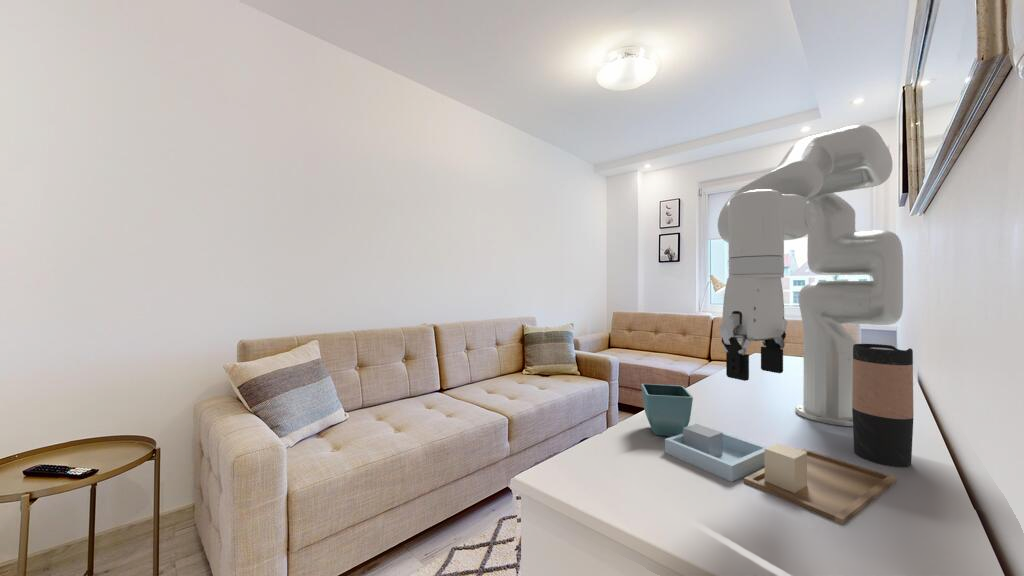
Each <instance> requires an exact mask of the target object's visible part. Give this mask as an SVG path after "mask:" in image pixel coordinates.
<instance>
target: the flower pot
mask: <svg viewBox="0 0 1024 576" xmlns="http://www.w3.org/2000/svg"><path fill="white" fill-rule="evenodd" d="M640 385H641V386H640V387H641V392H642V394H641V395H642V403H643V404H642V405H643V409H644V412H645V416H646V418H647V421H648V423H649V426H650V428H651V430H652V431H651V432H653V435H656V436H664V437H673V436H676V435H679V434H682V433H683V428H685V427H688V426H689V424H690V420H691V416H692V415H691V414H692V409H693V407H692V406H693V399H694V396H693V395H692V394H691V393H690V392H689V391H688V390H687V388H685V386H683V385H677V384H675V385H674V384H656V383H655V384H653V383H641V384H640Z"/></svg>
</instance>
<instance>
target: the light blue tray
mask: <svg viewBox="0 0 1024 576" xmlns="http://www.w3.org/2000/svg"><path fill="white" fill-rule="evenodd" d="M715 430H716V431H719V432H722V433H723V455H721V456H719V457H714V456H711V455H709V454H706V453H704V452H701V451H699V450H696V449H694V448H691V447H689V446H686V445H684V444H683V433H682V434H679V435H676V436H669V437H667V438H664V453H665V454H668V455H670V456H672V457H674V458H676V459H679V460H681V461H683V462H686V463H688V464H691V465H692V466H695V467H697V468H700V469H701V470H703V471H706V472H708V473H711V474H713V475H716V476H717V477H720V478H722V479H723V480H726V481H729V482H731V483H733V482H735V481H737V480H739V479H741V478H743V477H746V476H748V475H750V474H751V473H752V474H753V473H755V471H756V472H757V471H759V470H761V469H763V468H765V448H767V446H764V445H762V444H759V443H757V442H753V441H749V440H747V439H744V438H742V437H738V436H735V435H733V434H729V433H726V432H723V431H721V430H718V429H715Z"/></svg>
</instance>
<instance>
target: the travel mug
mask: <svg viewBox="0 0 1024 576" xmlns="http://www.w3.org/2000/svg"><path fill="white" fill-rule="evenodd" d="M913 354H914V351H913V349H912V348H908V349H906V350H904V349H903V350H902V349H899V348H896V347H895V346H894V345H892V344H891V345H889V344H877V343H856V344H854V345H853V386H852V415H853V426H852V436H853V453H854V454H855V455H856V456H857V457H859V458H861V459H862V460H864V461H868V462H871V463H874V464H878V465H882V466H887V467H893V468H900V469H901V468H903V469H904V468H910V467H911V466H912V457H913V438H914V437H913V436H914V435H913V434H914V355H913Z"/></svg>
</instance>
